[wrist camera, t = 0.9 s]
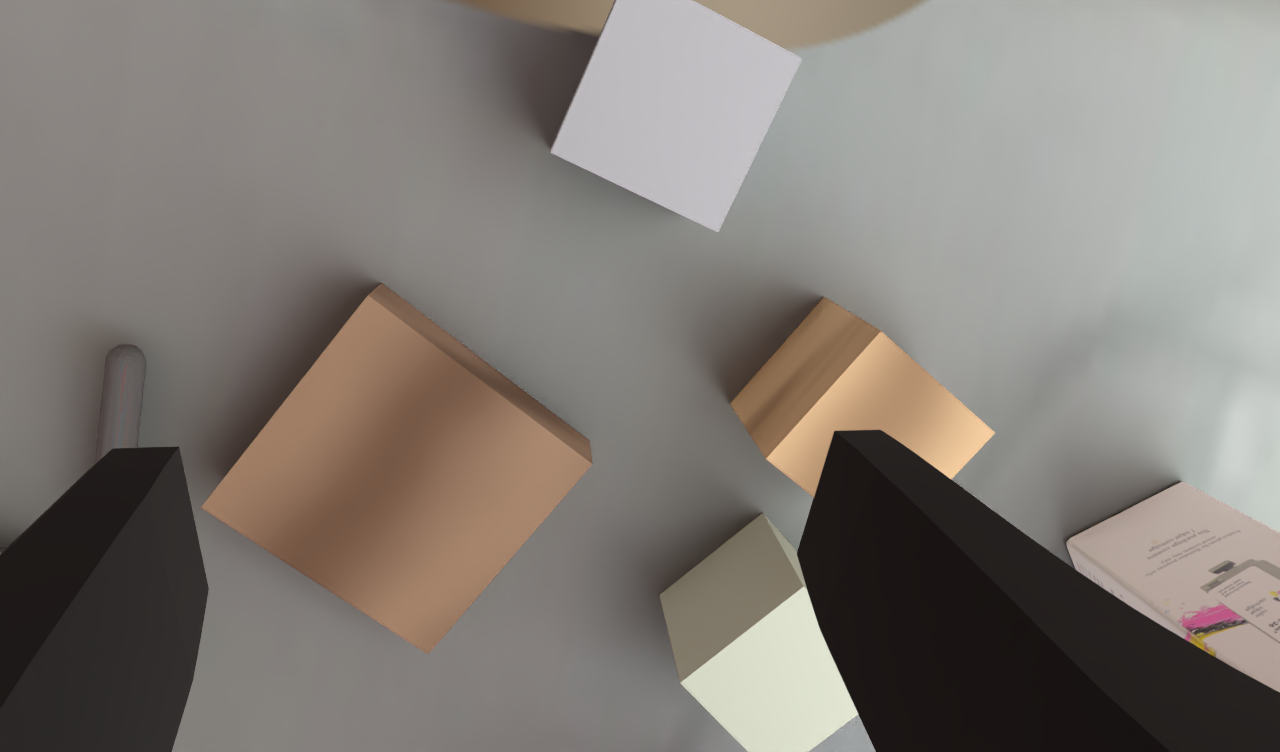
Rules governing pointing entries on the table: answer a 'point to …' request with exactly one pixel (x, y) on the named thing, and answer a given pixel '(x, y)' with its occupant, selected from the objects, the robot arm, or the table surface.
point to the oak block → (851, 399)
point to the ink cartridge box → (1194, 574)
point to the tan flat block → (401, 471)
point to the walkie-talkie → (120, 400)
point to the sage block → (756, 644)
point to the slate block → (675, 105)
